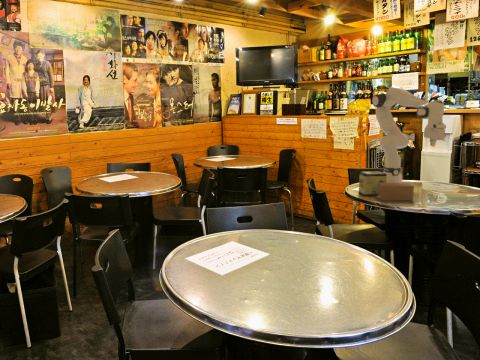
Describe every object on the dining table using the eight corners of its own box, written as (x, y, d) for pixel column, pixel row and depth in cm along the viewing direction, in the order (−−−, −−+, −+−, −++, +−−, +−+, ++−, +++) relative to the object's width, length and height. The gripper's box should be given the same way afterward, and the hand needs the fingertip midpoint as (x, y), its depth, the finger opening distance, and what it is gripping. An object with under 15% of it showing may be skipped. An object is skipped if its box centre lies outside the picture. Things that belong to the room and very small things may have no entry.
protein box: (358, 193, 299) (359, 171, 296) (379, 192, 301) (380, 171, 298) (363, 196, 289) (364, 173, 286) (385, 196, 290) (387, 173, 288)
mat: (374, 198, 282) (374, 198, 282) (405, 198, 284) (405, 197, 284) (382, 203, 270) (382, 202, 269) (415, 202, 272) (415, 202, 271)
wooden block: (409, 183, 282) (378, 182, 284) (414, 185, 272) (382, 185, 274) (408, 197, 284) (377, 197, 286) (412, 201, 274) (381, 200, 276)
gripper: (422, 123, 293) (420, 143, 296) (438, 125, 273) (435, 147, 276) (431, 123, 294) (428, 143, 296) (447, 126, 274) (445, 147, 276)
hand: (432, 145), depth 286 cm, fingers closed
